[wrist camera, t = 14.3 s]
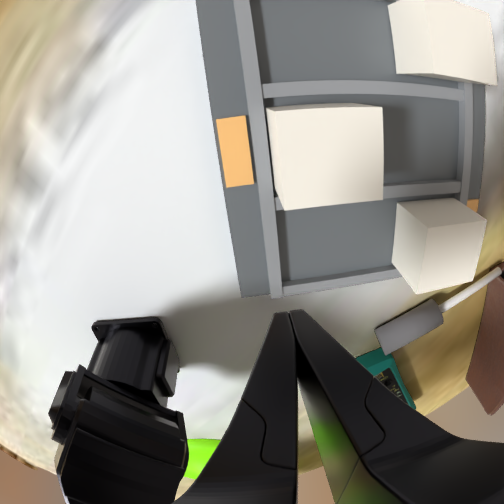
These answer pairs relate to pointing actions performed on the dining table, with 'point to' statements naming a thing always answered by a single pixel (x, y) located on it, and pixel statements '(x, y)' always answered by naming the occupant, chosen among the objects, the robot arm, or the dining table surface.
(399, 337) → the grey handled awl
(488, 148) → the dining table surface
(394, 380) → the digital multimeter
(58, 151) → the dining table surface
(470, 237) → the white block
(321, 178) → the cream block
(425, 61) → the cream square block
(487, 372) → the letter holder
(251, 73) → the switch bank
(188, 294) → the dining table surface
